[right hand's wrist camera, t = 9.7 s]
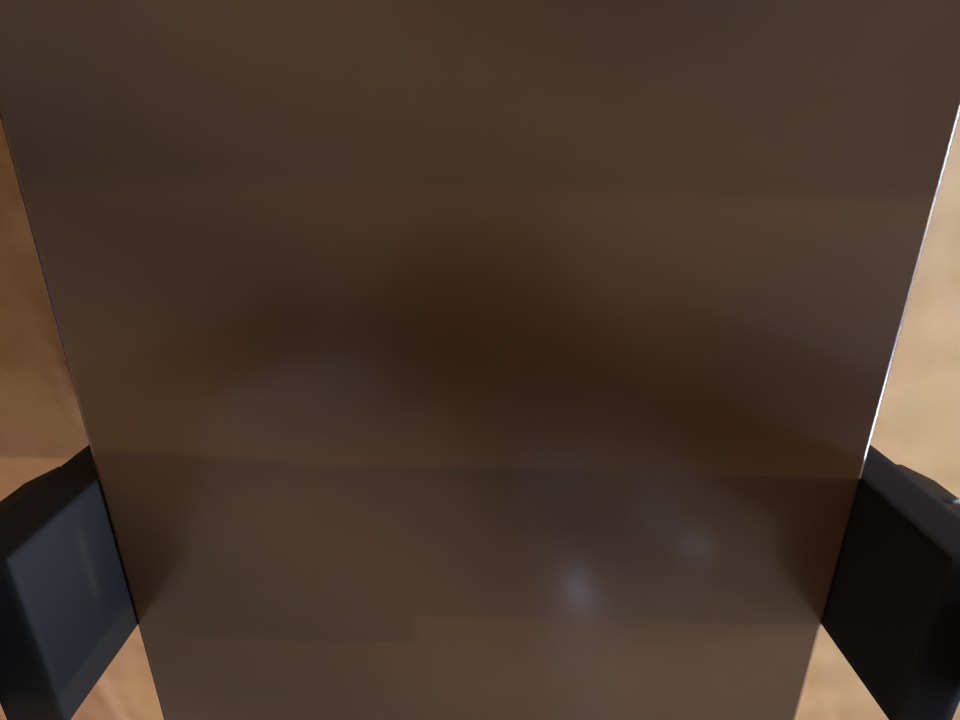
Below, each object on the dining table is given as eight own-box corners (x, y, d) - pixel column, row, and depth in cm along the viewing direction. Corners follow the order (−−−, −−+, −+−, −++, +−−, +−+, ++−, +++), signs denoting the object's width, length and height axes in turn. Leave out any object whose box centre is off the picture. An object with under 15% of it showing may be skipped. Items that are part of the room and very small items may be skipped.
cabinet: (249, -148, 14) (-248, -774, 4) (710, -148, 14) (1206, -774, 4) (319, 466, 20) (172, 759, 10) (640, 466, 20) (786, 759, 10)
